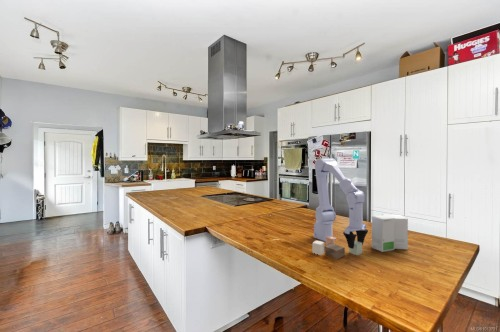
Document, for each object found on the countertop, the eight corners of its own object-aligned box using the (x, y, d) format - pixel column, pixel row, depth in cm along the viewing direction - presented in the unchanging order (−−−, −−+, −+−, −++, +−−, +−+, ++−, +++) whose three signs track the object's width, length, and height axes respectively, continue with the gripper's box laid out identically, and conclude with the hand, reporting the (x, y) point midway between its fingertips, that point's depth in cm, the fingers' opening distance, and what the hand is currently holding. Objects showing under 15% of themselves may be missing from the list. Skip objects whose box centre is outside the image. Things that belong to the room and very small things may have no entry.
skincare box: (382, 252, 107) (382, 219, 106) (370, 247, 113) (370, 216, 113) (395, 249, 110) (395, 217, 109) (383, 245, 116) (383, 214, 115)
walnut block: (325, 255, 105) (325, 246, 105) (333, 251, 109) (333, 243, 109) (336, 259, 100) (336, 250, 100) (344, 256, 104) (344, 247, 104)
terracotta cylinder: (324, 246, 114) (324, 237, 114) (329, 245, 117) (329, 235, 116) (331, 249, 111) (331, 239, 111) (336, 247, 113) (336, 237, 113)
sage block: (349, 252, 107) (349, 242, 107) (354, 250, 110) (354, 240, 109) (357, 255, 104) (357, 244, 104) (362, 253, 106) (362, 242, 106)
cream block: (312, 253, 107) (312, 242, 107) (316, 250, 110) (316, 240, 110) (320, 255, 105) (320, 244, 104) (324, 252, 108) (324, 242, 107)
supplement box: (399, 243, 118) (400, 214, 118) (408, 250, 109) (408, 218, 109) (380, 241, 120) (381, 213, 119) (387, 248, 111) (387, 218, 111)
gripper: (354, 221, 99) (354, 252, 99) (372, 216, 107) (372, 245, 107) (340, 218, 105) (340, 247, 105) (358, 213, 113) (358, 240, 113)
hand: (355, 246), depth 107 cm, fingers open, 7 cm apart
